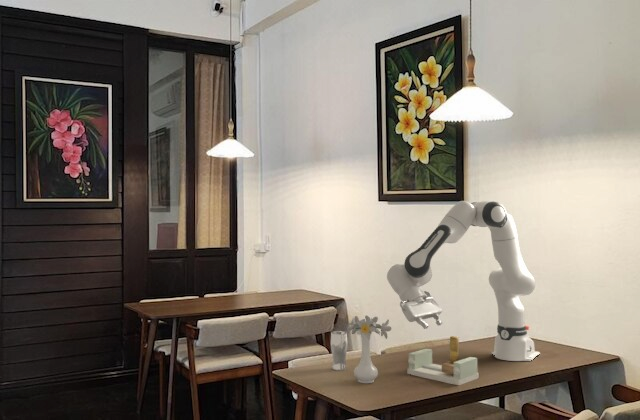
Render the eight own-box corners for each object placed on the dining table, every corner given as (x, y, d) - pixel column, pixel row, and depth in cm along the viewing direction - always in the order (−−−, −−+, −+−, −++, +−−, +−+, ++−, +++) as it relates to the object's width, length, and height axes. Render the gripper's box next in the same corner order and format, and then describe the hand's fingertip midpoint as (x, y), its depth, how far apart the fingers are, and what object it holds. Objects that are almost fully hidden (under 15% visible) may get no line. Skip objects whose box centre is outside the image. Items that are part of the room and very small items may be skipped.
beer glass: (346, 371, 263) (346, 334, 263) (329, 370, 265) (329, 334, 265) (348, 367, 270) (348, 331, 270) (332, 366, 272) (332, 330, 271)
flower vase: (396, 380, 249) (395, 316, 249) (358, 388, 239) (357, 321, 238) (374, 373, 260) (374, 311, 259) (337, 380, 249) (337, 316, 249)
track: (427, 367, 269) (427, 348, 269) (478, 378, 252) (478, 357, 252) (407, 373, 259) (407, 353, 259) (458, 385, 242) (458, 364, 242)
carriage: (456, 367, 257) (455, 334, 257) (466, 369, 254) (466, 336, 253) (441, 371, 250) (441, 338, 250) (452, 374, 246) (452, 340, 246)
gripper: (402, 296, 256) (422, 324, 249) (432, 291, 271) (452, 317, 264) (393, 307, 259) (413, 334, 253) (423, 301, 274) (443, 327, 267)
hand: (433, 326), depth 258 cm, fingers open, 8 cm apart
